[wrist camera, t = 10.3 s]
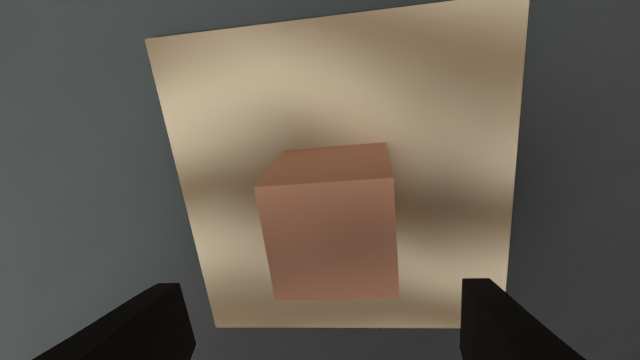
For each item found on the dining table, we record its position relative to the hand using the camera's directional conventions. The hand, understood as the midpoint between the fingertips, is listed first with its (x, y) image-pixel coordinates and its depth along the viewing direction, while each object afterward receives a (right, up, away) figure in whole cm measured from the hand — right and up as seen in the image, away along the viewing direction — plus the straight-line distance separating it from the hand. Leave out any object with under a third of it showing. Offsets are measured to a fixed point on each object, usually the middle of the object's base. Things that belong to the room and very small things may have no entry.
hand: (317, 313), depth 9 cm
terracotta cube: (+1, +3, +7) cm, 8 cm away
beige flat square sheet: (+1, +3, +8) cm, 8 cm away
